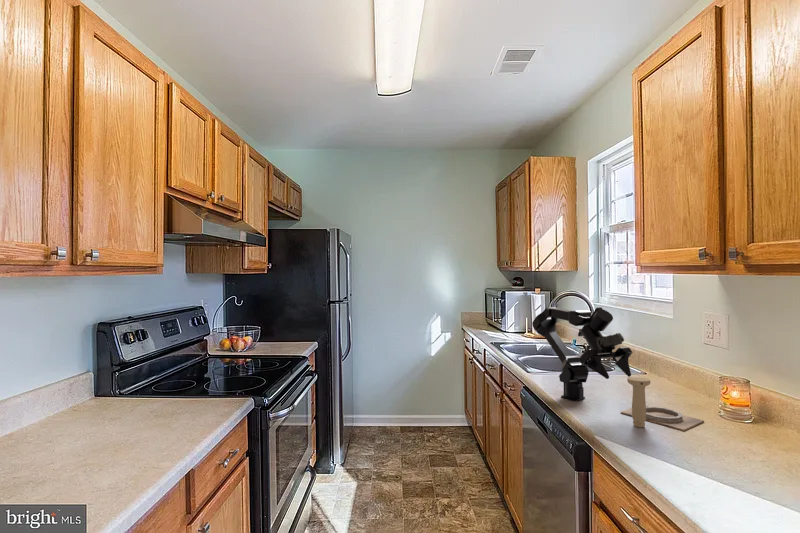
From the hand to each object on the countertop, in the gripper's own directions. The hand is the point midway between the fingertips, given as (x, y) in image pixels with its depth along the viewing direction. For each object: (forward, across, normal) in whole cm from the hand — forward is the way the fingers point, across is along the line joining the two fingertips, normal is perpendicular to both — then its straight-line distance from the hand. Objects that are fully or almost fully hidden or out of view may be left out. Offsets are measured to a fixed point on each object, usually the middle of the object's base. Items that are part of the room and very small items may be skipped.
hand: (619, 377), depth 147 cm
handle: (+16, 0, +4) cm, 16 cm away
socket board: (+13, +13, +7) cm, 20 cm away
